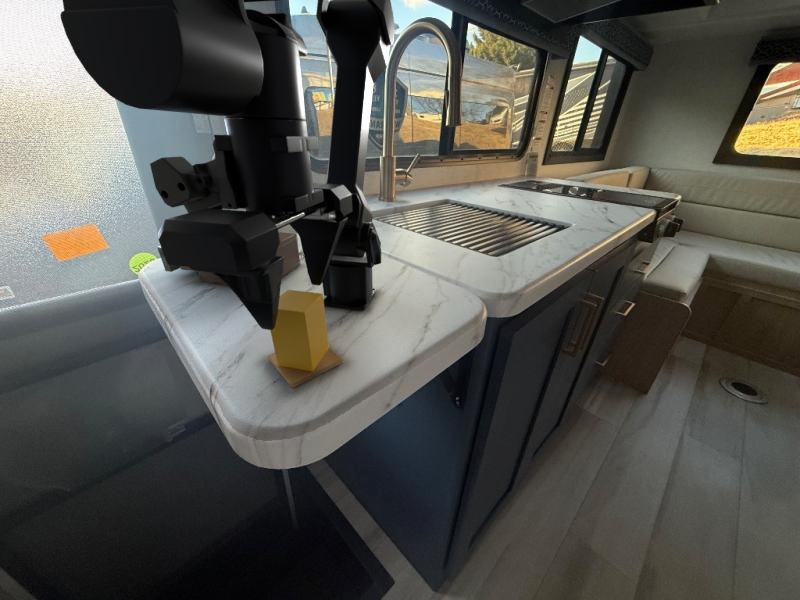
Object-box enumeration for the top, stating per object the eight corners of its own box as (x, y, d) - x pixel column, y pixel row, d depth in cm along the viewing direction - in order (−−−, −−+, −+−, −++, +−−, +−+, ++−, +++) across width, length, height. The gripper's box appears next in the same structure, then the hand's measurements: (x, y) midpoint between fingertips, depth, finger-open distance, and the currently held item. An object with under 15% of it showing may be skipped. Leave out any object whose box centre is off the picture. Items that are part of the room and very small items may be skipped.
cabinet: (200, 282, 52) (189, 246, 49) (244, 259, 61) (237, 228, 58) (266, 290, 49) (258, 253, 47) (300, 265, 59) (296, 233, 56)
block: (329, 348, 35) (323, 293, 32) (313, 371, 32) (304, 312, 29) (296, 343, 36) (287, 289, 33) (277, 365, 33) (265, 307, 29)
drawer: (159, 270, 53) (150, 246, 51) (203, 252, 62) (197, 230, 60) (221, 278, 51) (214, 253, 49) (258, 257, 60) (254, 235, 58)
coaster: (316, 340, 38) (315, 335, 37) (342, 363, 34) (342, 358, 34) (268, 360, 34) (267, 355, 34) (292, 388, 30) (291, 383, 30)
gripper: (250, 124, 33) (275, 263, 40) (30, 110, 17) (138, 347, 24) (350, 125, 31) (357, 271, 38) (209, 111, 15) (268, 370, 22)
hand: (295, 303), depth 31 cm, fingers open, 9 cm apart
